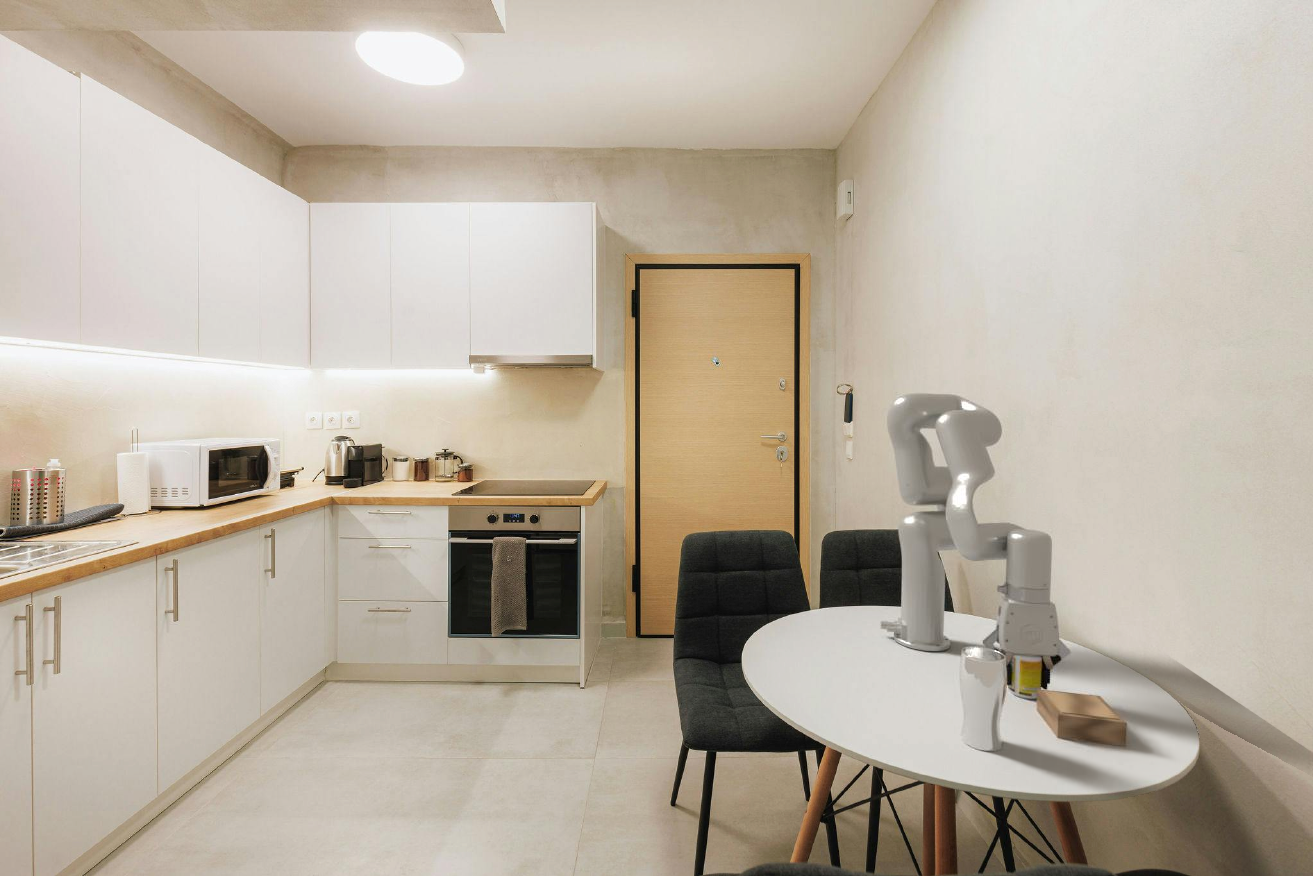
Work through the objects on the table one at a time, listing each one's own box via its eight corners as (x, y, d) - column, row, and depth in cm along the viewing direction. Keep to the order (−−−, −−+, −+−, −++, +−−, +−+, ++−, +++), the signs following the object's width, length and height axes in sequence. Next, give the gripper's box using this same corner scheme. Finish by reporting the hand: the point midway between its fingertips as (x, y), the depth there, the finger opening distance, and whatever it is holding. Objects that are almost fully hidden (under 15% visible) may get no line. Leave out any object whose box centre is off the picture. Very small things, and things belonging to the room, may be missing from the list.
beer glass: (949, 731, 105) (951, 646, 104) (987, 730, 105) (990, 645, 105) (973, 754, 98) (976, 662, 97) (1014, 752, 98) (1017, 661, 98)
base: (1057, 737, 103) (1058, 713, 103) (1036, 710, 113) (1037, 688, 112) (1125, 746, 100) (1126, 721, 100) (1098, 717, 110) (1099, 695, 110)
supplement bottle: (1047, 697, 118) (1048, 645, 118) (1029, 702, 116) (1030, 649, 115) (1019, 685, 123) (1020, 635, 123) (1001, 690, 121) (1003, 639, 120)
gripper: (984, 595, 117) (981, 687, 118) (1085, 603, 113) (1082, 698, 113) (974, 585, 124) (971, 671, 125) (1069, 592, 120) (1066, 681, 121)
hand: (1024, 683), depth 119 cm, fingers closed on supplement bottle, 5 cm apart
